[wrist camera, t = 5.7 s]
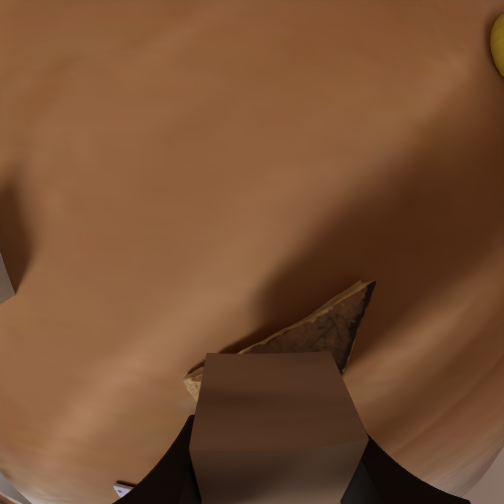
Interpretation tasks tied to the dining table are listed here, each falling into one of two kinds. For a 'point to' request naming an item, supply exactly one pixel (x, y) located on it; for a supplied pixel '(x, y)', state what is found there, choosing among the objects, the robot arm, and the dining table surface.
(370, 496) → the robot arm
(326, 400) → the walnut block
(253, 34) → the dining table surface
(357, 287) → the shard
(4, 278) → the white cube
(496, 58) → the lemon
